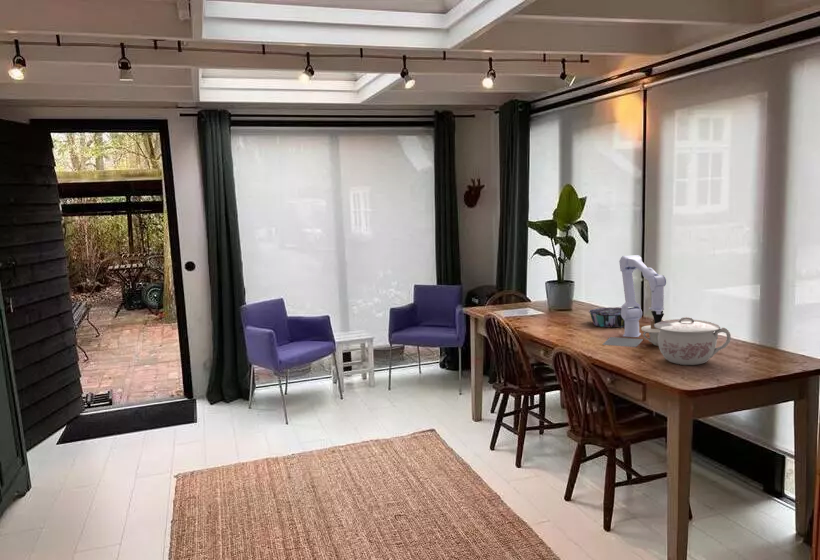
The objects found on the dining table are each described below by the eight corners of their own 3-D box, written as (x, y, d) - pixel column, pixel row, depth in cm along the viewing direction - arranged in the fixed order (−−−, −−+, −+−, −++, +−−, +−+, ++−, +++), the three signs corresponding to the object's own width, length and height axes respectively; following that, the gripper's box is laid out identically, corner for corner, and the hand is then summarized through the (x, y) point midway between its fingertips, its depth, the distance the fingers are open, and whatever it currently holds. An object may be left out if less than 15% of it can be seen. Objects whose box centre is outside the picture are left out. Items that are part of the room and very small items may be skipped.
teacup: (670, 342, 311) (670, 327, 310) (673, 347, 301) (673, 332, 300) (641, 342, 315) (641, 327, 314) (644, 347, 305) (643, 331, 304)
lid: (640, 326, 316) (640, 317, 316) (671, 326, 312) (671, 317, 311) (642, 332, 302) (642, 323, 302) (674, 333, 298) (674, 323, 297)
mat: (610, 337, 329) (610, 337, 329) (643, 340, 320) (643, 339, 320) (602, 345, 314) (602, 344, 314) (636, 347, 305) (636, 347, 305)
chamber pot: (640, 359, 283) (640, 316, 280) (683, 351, 294) (683, 309, 291) (690, 373, 257) (690, 326, 255) (735, 363, 268) (736, 317, 266)
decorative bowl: (641, 331, 349) (642, 314, 348) (593, 329, 351) (594, 312, 349) (627, 322, 375) (629, 306, 374) (582, 320, 376) (583, 305, 375)
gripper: (648, 297, 313) (648, 322, 315) (649, 301, 299) (650, 328, 301) (662, 297, 311) (662, 322, 313) (665, 301, 297) (665, 328, 299)
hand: (657, 325), depth 307 cm, fingers open, 3 cm apart
